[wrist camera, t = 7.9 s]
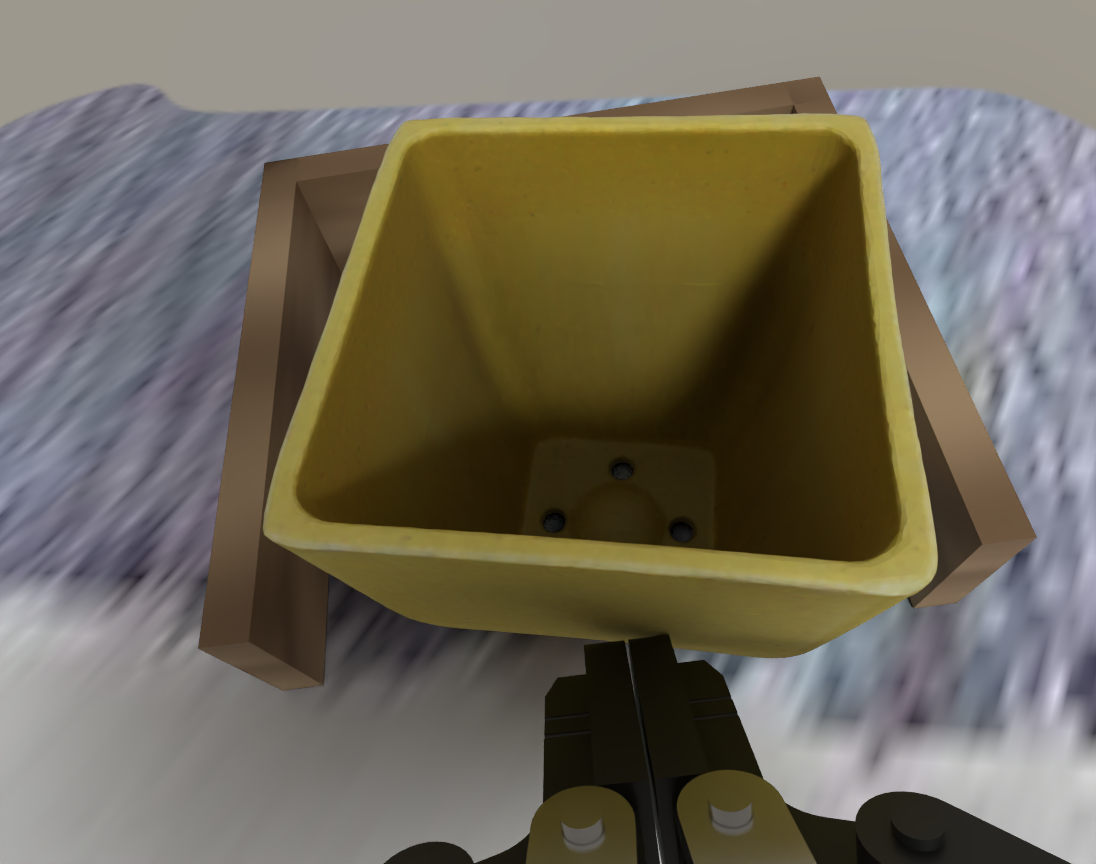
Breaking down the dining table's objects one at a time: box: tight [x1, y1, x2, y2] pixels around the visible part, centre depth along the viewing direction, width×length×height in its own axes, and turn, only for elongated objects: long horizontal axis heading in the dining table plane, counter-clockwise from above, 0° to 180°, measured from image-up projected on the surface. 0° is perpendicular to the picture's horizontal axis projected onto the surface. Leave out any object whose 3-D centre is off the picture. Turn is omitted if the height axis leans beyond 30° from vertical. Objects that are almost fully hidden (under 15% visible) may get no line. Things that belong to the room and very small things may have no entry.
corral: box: [198, 77, 1037, 691], centre depth 19 cm, size 14×16×4 cm
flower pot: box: [263, 113, 938, 658], centre depth 15 cm, size 9×9×9 cm
